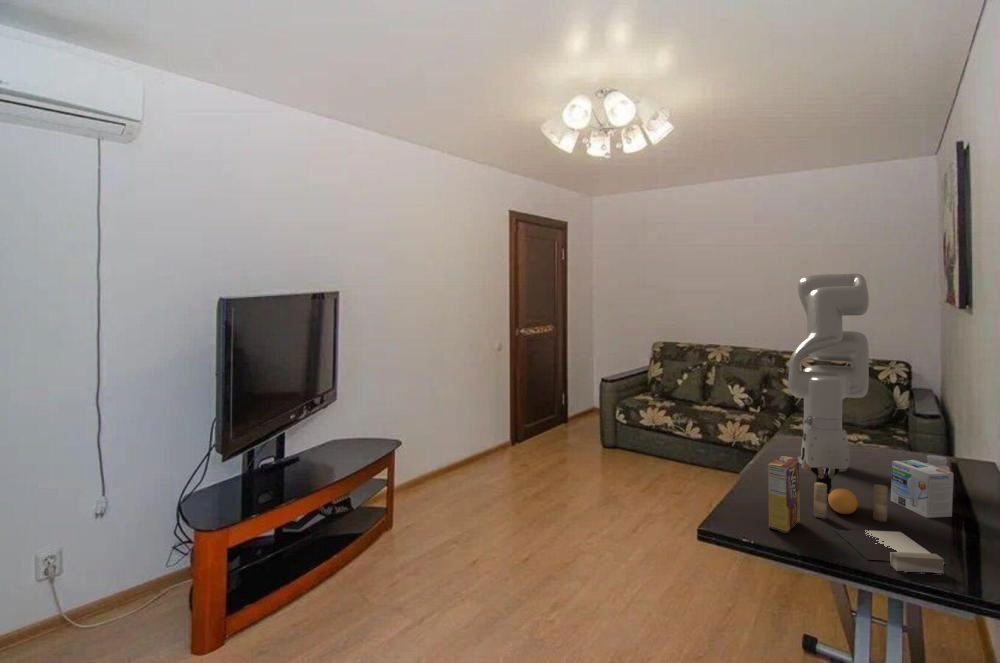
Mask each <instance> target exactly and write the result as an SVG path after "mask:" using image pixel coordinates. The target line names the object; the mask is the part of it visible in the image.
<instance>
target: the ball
mask: <svg viewBox="0 0 1000 663" xmlns="http://www.w3.org/2000/svg"><path fill="white" fill-rule="evenodd" d="M827 502H828V504H829V506H830V508H831V509H833V511H834V512H835V511H836V512H837V514H838V513H839V514H843V515H850V514H852V513H855V511H856V510H857V508H858V506H859V505H858V504H859V502H858V498H857V497H856V495H855V493H853V492H852V491H850V489H847V488H842V487H841V488H835V489H833V490H830V494H828V496H827Z"/></svg>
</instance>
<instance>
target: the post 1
mask: <svg viewBox="0 0 1000 663" xmlns="http://www.w3.org/2000/svg"><path fill="white" fill-rule="evenodd" d="M813 486H814V487H813V489H814V490H813V517H814V516H815V517H814V518H816V517H818V518H826V517H827V516H828V515H827V512H828V508H827V506H828V494H827V485H826V484H824V483H819V482H816V481H815V482H814V485H813ZM818 518H817V519H818ZM826 519H827V518H826Z"/></svg>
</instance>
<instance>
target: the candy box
mask: <svg viewBox="0 0 1000 663" xmlns="http://www.w3.org/2000/svg"><path fill="white" fill-rule="evenodd" d="M767 474H768V476H767V478H768V482H767V484H768V485H767V486H768V487H767V488H768V491H767V492H768V494H767V495H768V497H767V498H768V499H767V500H768V527H769V526H771V527H775V528H778V529H781V530H785V531H788V530H790V529H791V528H792V527H793V526H794V525H795V524H796V523H798V522H799V521H801V519H800V514H801V513H800V511H801V510H800V507H801V506H800V463H799V459H798V457H797V458H796V457H791V456H787V455H786V456H785V455H780V456H779V457H777V458H776V459H775V460H773V461H771V462H769V464H767ZM799 523H800V522H799ZM799 523H798V524H799Z"/></svg>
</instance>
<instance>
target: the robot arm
mask: <svg viewBox="0 0 1000 663" xmlns="http://www.w3.org/2000/svg"><path fill="white" fill-rule="evenodd" d="M797 293H798V297H799V300H800V303H801V305H802V307H803V309H804V311H805V315H806V321H807V322H806V324H807V325H806V338H805V339H804V340H802V342H800V343H799V345H797V346H796V348H795V349H794V350H793V352H792V354H791V356H790V359H789V364H788V379H787V380H788V391H789V393H790V394H791V395H792V396H794V397H796V398H801V399H803V418H802V424H803V435H802V439H801V440H802V441H801V450H800V455H799V456H798V457H797V459H799V465H800V467H801V468H802V469H803V470H805V471H808V472H809V471H810V472H812V473H813V474H814V475H815V480H816V481H815V483H816V482H819V483H824V484H826V485H827V495H829V494H830V492H831V491H832V480H833V479H834V477H835V476H836V475H837V474H838V473H841V472H845V471H846V472H847V471H848V467H850V449H849V447H850V446H849V440H848V435H847V430H846V429H845V428H844V429H843V401H844V399H845V398H853V399H859V398H864V397H865V396H866V395H867V394H868V392H869V383H870V382H869V380H870V378H869V373H870V372H869V365H870V363H869V362H870V360H869V357H870V356H869V353H870V351H869V342H868V338H867V335H866V334H864V333H863V332H860V331H852V330H849V331H848V330H847V331H846V330H843V317H844V316H863V315H864V314H866V313H867V311H868V309H869V302H870V301H869V300H870V298H869V291H868V285H867V280H866V278H865V277H864V276H863V274H861V273H838V274H837V273H834V274H833V273H830V274H827V273H826V274H813V275H807V276H804V277H802V278H801V279H799V281H798V283H797ZM807 356H808V358H810V359H812V360H813V361H820V362H840V363H842V362H843V363H848V364H849V365H850V366H843V365H828V364H827V365H825V364H822V365H821V364H815V365H814V364H813V365H809V366H806V367H805V368H803V370H800V368H801V363H802V361H803V360H804V358H805V357H807Z"/></svg>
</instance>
